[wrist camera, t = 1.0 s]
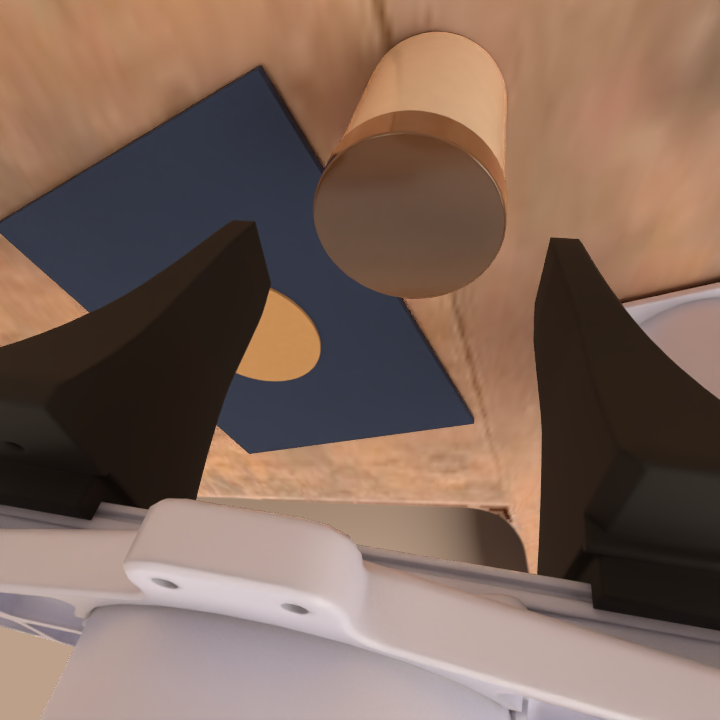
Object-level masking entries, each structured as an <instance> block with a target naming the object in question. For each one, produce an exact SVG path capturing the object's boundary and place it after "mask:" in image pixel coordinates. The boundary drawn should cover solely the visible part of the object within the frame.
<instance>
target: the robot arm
mask: <svg viewBox="0 0 720 720" xmlns="http://www.w3.org/2000/svg"><path fill="white" fill-rule="evenodd" d="M270 286H271V281H270V277H269V273H268V269H267V265H266V261H265V257H264V253H263V249H262V246H261V242H260V238H259V234H258V230H257V226H256V222H255V221H240V220H232V221H231V222H229V223H228V224H226V225H225V226H223V227H222V228H220V229H219V230H218V231H216V232H215V233H214V234H212V235H211V236H210V237H208V238H207V239H206V240H204V241H203V242H202V243H200V244H199V245H198V246H196V247H195V248H194V249H192V250H191V251H189V252H188V253H187V254H185V255H184V256H183V257H181V258H180V259H179V260H177V261H176V262H175V263H173V264H172V265H170V266H169V267H167V268H166V269H164V270H163V271H161V272H160V273H158V274H157V275H155V276H154V277H152V278H151V279H150V280H148V281H147V282H145V283H144V284H142V285H140V286H139V287H137V288H135V289H134V290H132V291H130V292H129V293H127V294H125V295H123V296H122V297H120V298H118V299H116V300H114V301H113V302H111V303H109V304H107V305H105V306H103V307H101V308H99V309H97V310H95V311H92V312H90V313H88V314H86V315H84V316H82V317H80V318H77V319H75V320H73V321H71V322H69V323H67V324H64V325H62V326H59V327H57V328H54V329H52V330H49V331H47V332H44V333H41V334H39V335H36V336H33V337H30V338H28V339H25V340H22V341H19V342H16V343H13V344H9V345H6V346H3V347H0V627H4V628H8V629H11V630H15V631H19V632H22V633H26V634H29V635H33V636H37V637H40V638H44V639H48V640H51V641H55V642H58V643H62V644H66V645H69V646H73V647H75V648H74V650H73V652H72V654H71V656H70V658H69V660H68V662H67V664H66V666H65V668H64V670H63V672H62V674H61V676H60V678H59V680H58V682H57V684H56V686H55V688H54V690H53V692H52V695H51V696H50V699H49V701H48V702H47V704H46V707H45V708H44V710H43V712H42V715H41V717H40V719H39V720H720V282H718V283H714V284H709V285H704V286H700V287H695V288H691V289H686V290H681V291H677V292H672V293H668V294H663V295H659V296H654V297H649V298H645V299H640V300H636V301H631V302H627V303H622V304H621V302H620V301H619V300H618V298H617V297H616V295H615V294H614V293H613V291H612V290H611V288H610V287H609V286H608V284H607V283H606V281H605V280H604V278H603V277H602V275H601V273H600V272H599V270H598V269H597V267H596V266H595V264H594V262H593V261H592V259H591V257H590V256H589V254H588V252H587V251H586V249H585V247H584V246H583V244H582V243H581V241H580V240H579V239H568V238H550V243H549V247H548V251H547V255H546V259H545V263H544V268H543V272H542V276H541V280H540V284H539V288H538V292H537V297H536V301H535V310H534V351H535V361H536V371H537V381H538V391H539V401H540V410H541V424H542V466H541V505H540V530H539V552H538V571H537V575H536V574H530V573H523V572H518V571H512V570H506V569H500V568H494V567H487V566H482V565H476V564H470V563H464V562H458V561H451V560H446V559H440V558H433V557H428V556H422V555H416V554H410V553H404V552H398V551H392V550H386V549H380V548H374V547H368V546H362V545H357V544H355V543H354V542H353V541H352V539H351V538H350V537H349V536H348V535H347V534H345V533H343V532H341V531H339V530H338V529H336V528H334V527H332V526H330V525H328V524H325V523H321V522H317V521H314V520H310V519H306V518H302V517H296V516H290V515H284V514H277V513H271V512H265V511H259V510H253V509H247V508H241V507H234V506H228V505H222V504H216V503H210V502H203V501H197V500H196V498H197V494H198V489H199V485H200V481H201V478H202V474H203V470H204V466H205V462H206V458H207V455H208V451H209V448H210V445H211V441H212V438H213V434H214V431H215V428H216V424H217V421H218V418H219V415H220V412H221V409H222V406H223V403H224V400H225V397H226V394H227V392H228V389H229V387H230V384H231V382H232V380H233V377H234V375H235V373H236V371H237V369H238V367H239V365H240V362H241V360H242V358H243V356H244V354H245V352H246V350H247V348H248V345H249V343H250V341H251V339H252V337H253V335H254V332H255V330H256V328H257V326H258V324H259V321H260V319H261V317H262V314H263V311H264V307H265V304H266V301H267V297H268V294H269V290H270Z"/></svg>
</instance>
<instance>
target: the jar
mask: <svg viewBox="0 0 720 720" xmlns="http://www.w3.org/2000/svg"><path fill="white" fill-rule="evenodd" d="M506 116H507V94H506V88H505V84H504V80H503V77H502V75H501V72H500V70H499V68H498V66H497V65H496V63H495V61H494V60H493V59H492V58H491V56H490V55H489V54H488V53H487V52H486V51H485V50H484V49H483V48H482V47H480V46H479V45H478V44H476V43H475V42H473V41H471V40H469V39H467V38H465V37H463V36H460V35H457V34H454V33H448V32H428V33H422V34H419V35H415V36H412V37H410V38H408V39H406V40H404V41H402V42H400V43H399V44H397V45H396V46H394V47H393V48H392V49H391V50H390V51H389V52H387V54H386V55H385V56H384V57H383V58H382V59H381V60H380V62H379V63H378V65H377V66H376V68H375V70H374V72H373V74H372V76H371V78H370V80H369V82H368V84H367V86H366V89H365V91H364V93H363V95H362V97H361V99H360V102H359V104H358V106H357V108H356V110H355V113H354V115H353V117H352V119H351V121H350V123H349V126H348V128H347V130H346V132H345V134H344V136H343V139H342V140H341V141H340V142H339V144H338V145H337V146H336V148H335V149H334V151H333V152H332V154H331V156H330V158H329V160H328V162H327V164H326V166H325V169H324V171H323V173H322V175H321V177H320V179H319V181H318V184H317V187H316V191H315V195H314V201H313V216H314V223H315V227H316V231H317V235H318V237H319V239H320V242H321V244H322V246H323V248H324V249H325V251H326V253H327V254H328V256H329V257H330V258H331V259H332V261H333V262H334V263H335V264H336V265H337V266H338V267H339V268H340V269H341V270H342V271H343V272H344V273H345V274H346V275H348V276H349V277H350V278H352V279H353V280H355V281H356V282H358V283H359V284H361V285H363V286H365V287H367V288H369V289H372V290H374V291H376V292H379V293H383V294H386V295H389V296H395V297H400V298H410V299H415V298H431V297H436V296H441V295H445V294H448V293H451V292H454V291H456V290H458V289H461V288H463V287H464V286H466V285H468V284H469V283H471V282H473V281H474V280H475V279H476V278H478V277H479V276H480V275H481V274H482V273H483V272H484V271H485V270H486V269H487V268H488V267H489V266H490V265H491V263H492V262H493V260H494V259H495V258H496V256H497V254H498V252H499V250H500V248H501V245H502V243H503V240H504V236H505V230H506V215H507V188H506V181H505V177H504V167H505V141H506Z"/></svg>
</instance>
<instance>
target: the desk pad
mask: <svg viewBox="0 0 720 720" xmlns="http://www.w3.org/2000/svg"><path fill="white" fill-rule="evenodd" d="M323 171H324V169H323V167H322V166H321V164H320V162H319V161H318V159H317V157H316V156H315V154H314V152H313V151H312V149H311V147H310V146H309V144H308V142H307V141H306V139H305V137H304V136H303V134H302V133H301V131H300V129H299V128H298V126H297V124H296V123H295V121H294V119H293V118H292V116H291V114H290V113H289V111H288V109H287V108H286V106H285V104H284V103H283V101H282V99H281V98H280V96H279V94H278V93H277V91H276V89H275V88H274V86H273V84H272V83H271V81H270V79H269V78H268V76H267V75H266V73H265V71H264V70H263V68H262V66H261V65H260V66H258V67H256V68H255V69H253V70H251V71H250V72H248V73H246V74H245V75H243V76H241V77H240V78H238V79H236V80H235V81H233V82H231V83H230V84H228V85H226V86H225V87H223V88H221V89H220V90H218V91H216V92H215V93H213V94H211V95H210V96H208V97H206V98H205V99H203V100H201V101H200V102H198V103H196V104H195V105H193V106H191V107H190V108H188V109H186V110H185V111H183V112H181V113H180V114H178V115H176V116H175V117H173V118H171V119H170V120H168V121H166V122H165V123H163V124H161V125H160V126H158V127H156V128H155V129H153V130H151V131H150V132H148V133H146V134H145V135H143V136H141V137H140V138H138V139H136V140H135V141H133V142H131V143H130V144H128V145H126V146H125V147H123V148H121V149H120V150H118V151H116V152H115V153H113V154H111V155H110V156H108V157H106V158H105V159H103V160H101V161H100V162H98V163H96V164H95V165H93V166H91V167H90V168H88V169H86V170H85V171H83V172H81V173H80V174H78V175H76V176H75V177H73V178H71V179H70V180H68V181H66V182H65V183H63V184H61V185H60V186H58V187H56V188H55V189H53V190H51V191H50V192H48V193H46V194H45V195H43V196H41V197H40V198H38V199H36V200H35V201H33V202H31V203H30V204H28V205H26V206H25V207H23V208H21V209H20V210H18V211H16V212H15V213H13V214H11V215H10V216H8V217H6V218H5V219H3V220H1V221H0V234H1V235H3V236H4V237H5V238H6V239H7V240H8V241H9V242H10V243H12V244H13V245H14V246H15V247H16V248H17V249H18V250H20V251H21V252H22V253H23V254H24V255H25V256H26V257H27V258H29V259H30V260H31V261H32V262H33V263H34V264H35V265H36V266H38V267H39V268H40V269H41V270H42V271H43V272H44V273H46V274H47V275H48V276H49V277H50V278H51V279H52V280H53V281H55V282H56V283H57V284H58V285H59V286H60V287H61V288H62V289H64V290H65V291H66V292H67V293H68V294H69V295H70V296H72V297H73V298H74V299H75V300H76V301H77V302H78V303H79V304H81V305H82V306H83V307H84V308H85V309H86V310H87V311H88V312H92V311H95V310H97V309H99V308H101V307H103V306H105V305H107V304H109V303H111V302H113V301H114V300H116V299H118V298H120V297H122V296H123V295H125V294H127V293H129V292H130V291H132V290H134V289H135V288H137V287H139V286H140V285H142V284H144V283H145V282H147V281H148V280H150V279H151V278H152V277H154V276H155V275H157V274H158V273H160V272H161V271H163V270H164V269H166V268H167V267H169V266H170V265H172V264H173V263H175V262H176V261H177V260H179V259H180V258H181V257H183V256H184V255H185V254H187V253H188V252H189V251H191V250H192V249H194V248H195V247H196V246H198V245H199V244H200V243H202V242H203V241H204V240H206V239H207V238H208V237H210V236H211V235H212V234H214V233H215V232H216V231H218V230H219V229H220V228H222V227H223V226H225V225H226V224H228V223H229V222H231V221H232V220H240V221H255V222H256V226H257V230H258V234H259V238H260V242H261V246H262V249H263V253H264V257H265V261H266V265H267V269H268V273H269V277H270V281H271V286H270V290H269V294H268V297H267V301H266V304H265V307H264V311H263V314H262V317H261V319H260V321H259V324H258V326H257V328H256V330H255V332H254V335H253V337H252V339H251V341H250V343H249V345H248V348H247V350H246V352H245V354H244V356H243V358H242V360H241V362H240V365H239V367H238V369H237V371H236V373H235V375H234V377H233V380H232V382H231V384H230V387H229V389H228V392H227V394H226V397H225V400H224V403H223V406H222V409H221V412H220V415H219V418H218V421H217V424H216V425H217V426H218V427H220V428H221V429H222V430H223V431H224V432H225V433H226V434H227V435H229V436H230V437H231V438H232V439H233V440H234V441H235V442H237V443H238V444H239V445H240V446H241V447H242V448H243V449H244V450H246V451H247V452H248V453H249V454H252V453H260V452H267V451H274V450H282V449H289V448H297V447H304V446H312V445H319V444H326V443H334V442H341V441H349V440H356V439H364V438H371V437H378V436H386V435H393V434H401V433H408V432H416V431H423V430H430V429H438V428H445V427H453V426H460V425H468V424H474V418H473V416H472V414H471V413H470V411H469V409H468V408H467V406H466V404H465V403H464V401H463V399H462V398H461V396H460V394H459V393H458V391H457V389H456V388H455V386H454V384H453V383H452V381H451V379H450V378H449V376H448V374H447V373H446V371H445V369H444V368H443V366H442V364H441V363H440V361H439V360H438V358H437V356H436V355H435V353H434V351H433V350H432V348H431V346H430V345H429V343H428V341H427V340H426V338H425V336H424V335H423V333H422V331H421V330H420V328H419V326H418V325H417V323H416V321H415V320H414V318H413V316H412V315H411V313H410V311H409V310H408V308H407V306H406V305H405V303H404V302H403V300H402V298H400V297H395V296H389V295H386V294H383V293H379V292H376V291H374V290H372V289H369V288H367V287H365V286H363V285H361V284H359V283H358V282H356V281H355V280H353V279H352V278H350V277H349V276H348V275H346V274H345V273H344V272H343V271H342V270H341V269H340V268H339V267H338V266H337V265H336V264H335V263H334V262H333V261H332V259H331V258H330V257H329V256H328V254H327V253H326V251H325V249H324V248H323V246H322V244H321V242H320V239H319V237H318V235H317V231H316V227H315V223H314V216H313V201H314V195H315V191H316V187H317V184H318V181H319V179H320V177H321V175H322V173H323Z"/></svg>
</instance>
